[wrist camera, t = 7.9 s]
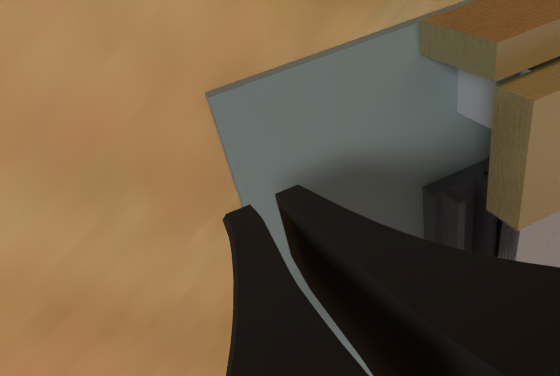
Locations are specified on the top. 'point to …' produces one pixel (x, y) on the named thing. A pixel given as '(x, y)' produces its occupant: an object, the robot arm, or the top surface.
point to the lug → (510, 96)
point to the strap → (533, 232)
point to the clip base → (366, 142)
